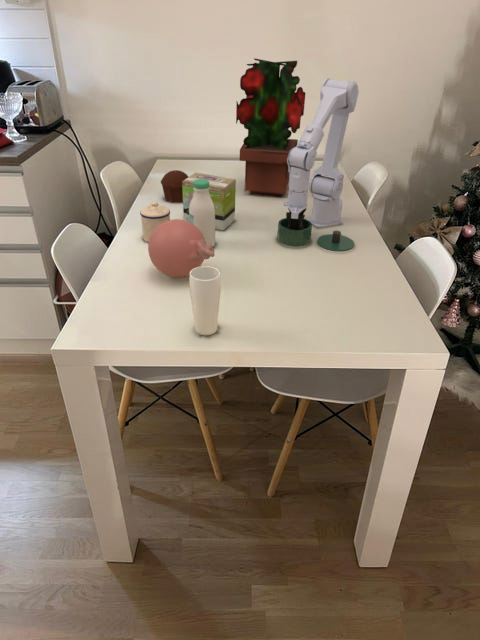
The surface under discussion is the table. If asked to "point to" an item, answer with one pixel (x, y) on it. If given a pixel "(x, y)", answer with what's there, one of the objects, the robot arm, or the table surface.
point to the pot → (294, 233)
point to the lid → (335, 242)
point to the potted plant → (269, 124)
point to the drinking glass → (205, 298)
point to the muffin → (173, 186)
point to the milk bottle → (203, 210)
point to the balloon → (178, 248)
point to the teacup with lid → (153, 218)
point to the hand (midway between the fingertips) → (294, 231)
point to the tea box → (213, 197)
